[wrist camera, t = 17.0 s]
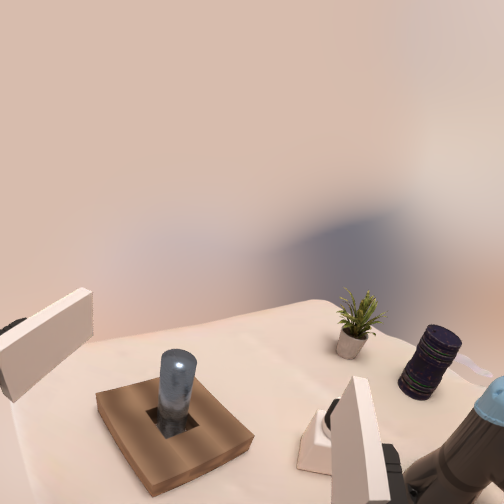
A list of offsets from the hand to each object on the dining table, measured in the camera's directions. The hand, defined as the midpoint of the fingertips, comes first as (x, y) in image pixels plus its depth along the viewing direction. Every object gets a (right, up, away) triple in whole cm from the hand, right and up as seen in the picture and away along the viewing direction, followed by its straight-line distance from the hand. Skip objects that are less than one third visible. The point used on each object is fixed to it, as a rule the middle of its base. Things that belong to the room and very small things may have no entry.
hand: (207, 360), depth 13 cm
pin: (-10, -21, +22) cm, 32 cm away
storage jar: (+40, -27, +44) cm, 65 cm away
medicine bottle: (+12, -26, +23) cm, 37 cm away
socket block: (-10, -21, +22) cm, 32 cm away
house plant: (+25, -20, +56) cm, 64 cm away
